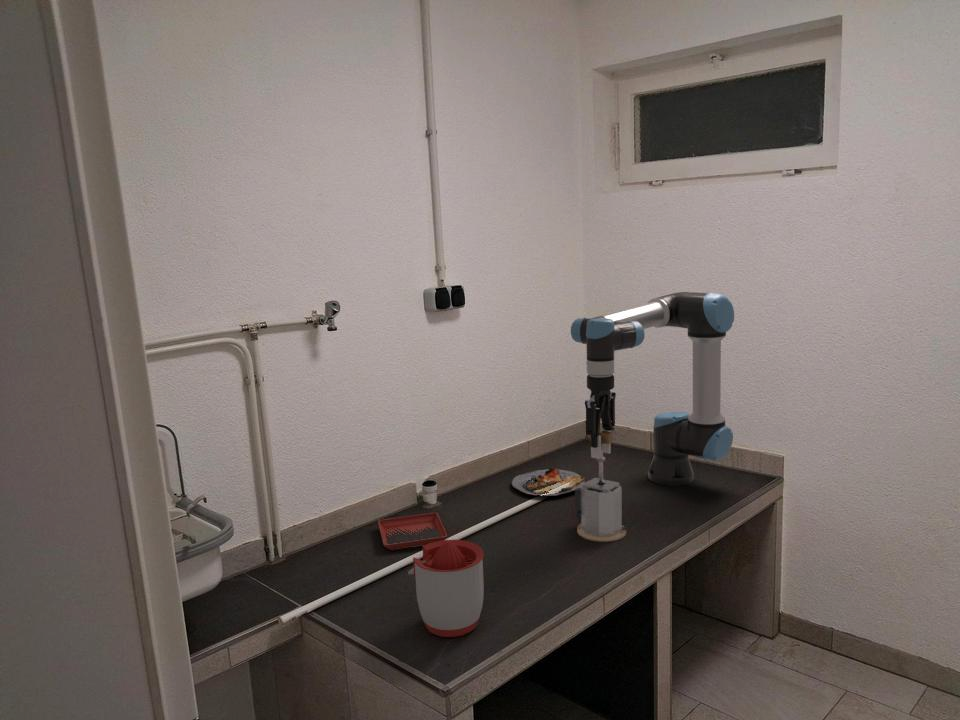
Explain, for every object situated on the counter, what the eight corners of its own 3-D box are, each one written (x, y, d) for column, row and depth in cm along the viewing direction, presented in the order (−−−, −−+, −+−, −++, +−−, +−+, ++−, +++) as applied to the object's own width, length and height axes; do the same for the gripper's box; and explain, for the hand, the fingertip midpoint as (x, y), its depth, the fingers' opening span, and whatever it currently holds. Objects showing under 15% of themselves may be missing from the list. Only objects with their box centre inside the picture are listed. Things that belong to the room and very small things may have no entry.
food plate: (557, 469, 265) (557, 460, 264) (599, 488, 245) (599, 478, 245) (499, 486, 252) (499, 476, 252) (539, 507, 233) (538, 497, 232)
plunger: (596, 489, 214) (596, 426, 210) (618, 494, 209) (617, 430, 206) (584, 496, 208) (583, 432, 205) (606, 501, 204) (605, 436, 200)
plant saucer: (384, 555, 202) (383, 544, 201) (378, 529, 219) (377, 519, 218) (448, 546, 206) (448, 535, 205) (437, 522, 223) (437, 512, 222)
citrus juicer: (424, 602, 175) (420, 523, 171) (494, 611, 170) (491, 530, 166) (398, 637, 160) (393, 552, 157) (474, 648, 155) (470, 560, 152)
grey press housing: (589, 517, 221) (588, 471, 218) (634, 529, 212) (634, 481, 209) (564, 533, 210) (563, 485, 208) (611, 546, 201) (611, 496, 198)
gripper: (604, 367, 212) (604, 445, 216) (571, 379, 198) (572, 461, 202) (627, 370, 207) (627, 449, 211) (596, 382, 193) (596, 466, 197)
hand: (600, 454), depth 207 cm, fingers open, 5 cm apart
